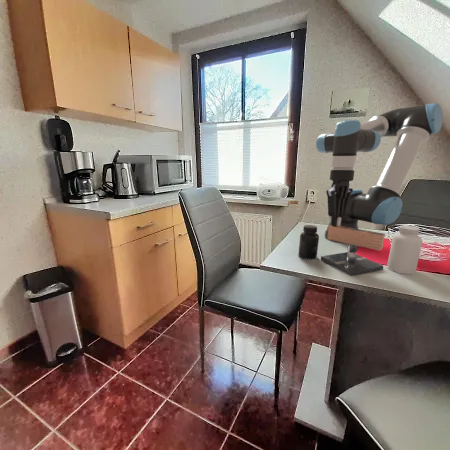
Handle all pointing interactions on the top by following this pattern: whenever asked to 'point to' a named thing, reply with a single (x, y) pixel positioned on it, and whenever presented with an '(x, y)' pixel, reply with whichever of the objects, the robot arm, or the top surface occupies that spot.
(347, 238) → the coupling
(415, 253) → the pill bottle
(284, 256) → the top surface
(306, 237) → the supplement bottle
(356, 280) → the top surface
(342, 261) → the post base
